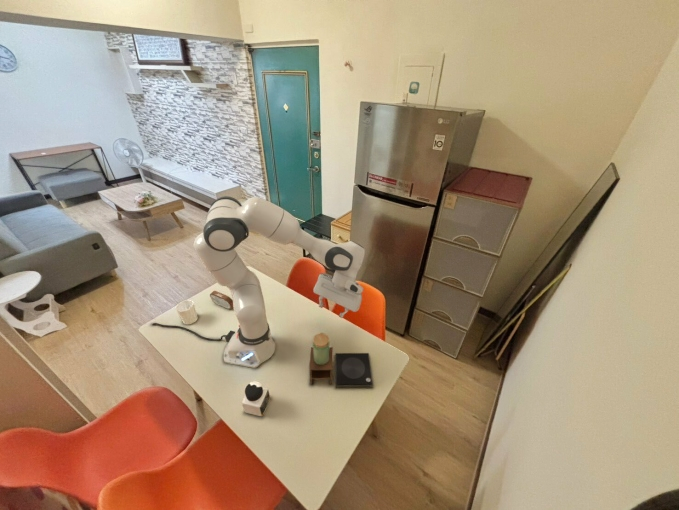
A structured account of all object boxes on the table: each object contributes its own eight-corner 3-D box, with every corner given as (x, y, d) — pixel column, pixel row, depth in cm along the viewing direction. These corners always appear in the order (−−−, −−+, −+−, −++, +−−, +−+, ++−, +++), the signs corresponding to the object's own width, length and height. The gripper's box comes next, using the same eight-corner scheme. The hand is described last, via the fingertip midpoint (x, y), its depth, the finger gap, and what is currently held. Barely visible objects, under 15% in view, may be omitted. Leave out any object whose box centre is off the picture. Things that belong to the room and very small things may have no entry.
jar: (313, 364, 104) (312, 346, 97) (313, 350, 109) (313, 332, 103) (329, 364, 104) (329, 346, 98) (329, 350, 109) (329, 332, 103)
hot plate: (335, 388, 108) (335, 384, 106) (335, 355, 120) (335, 351, 118) (372, 387, 108) (373, 383, 106) (368, 355, 121) (368, 351, 119)
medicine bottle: (262, 417, 98) (257, 400, 91) (244, 412, 99) (238, 395, 92) (270, 398, 103) (266, 380, 97) (253, 394, 104) (248, 376, 98)
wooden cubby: (310, 384, 108) (309, 369, 102) (311, 362, 117) (311, 347, 111) (332, 384, 109) (332, 368, 103) (332, 362, 117) (332, 347, 111)
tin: (236, 308, 142) (233, 296, 137) (231, 312, 140) (228, 300, 135) (215, 299, 147) (212, 288, 142) (211, 303, 145) (207, 291, 140)
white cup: (202, 318, 136) (197, 303, 130) (187, 327, 130) (181, 313, 125) (193, 311, 139) (187, 297, 134) (178, 321, 134) (172, 306, 128)
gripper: (318, 271, 106) (305, 302, 107) (364, 291, 100) (350, 324, 101) (323, 270, 112) (311, 300, 113) (367, 290, 106) (354, 321, 107)
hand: (330, 312), depth 107 cm, fingers open, 8 cm apart
